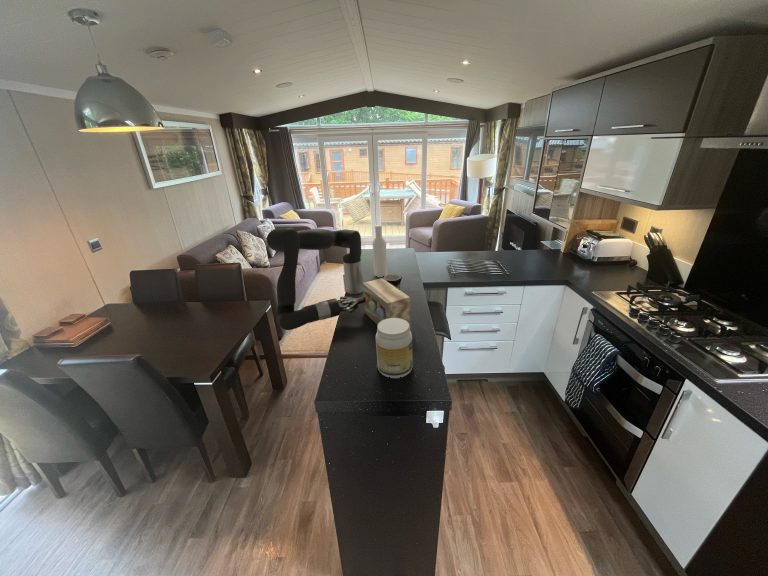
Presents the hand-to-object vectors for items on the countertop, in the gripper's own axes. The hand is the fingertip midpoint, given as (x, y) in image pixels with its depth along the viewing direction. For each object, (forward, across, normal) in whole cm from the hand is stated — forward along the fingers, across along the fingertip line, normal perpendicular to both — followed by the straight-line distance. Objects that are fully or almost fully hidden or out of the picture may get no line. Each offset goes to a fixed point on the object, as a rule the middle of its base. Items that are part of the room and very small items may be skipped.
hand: (364, 299), depth 137 cm
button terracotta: (+1, 0, +2) cm, 2 cm away
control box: (+6, -8, +9) cm, 13 cm away
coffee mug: (+23, +14, +9) cm, 28 cm away
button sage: (0, -8, +2) cm, 8 cm away
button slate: (0, -15, +2) cm, 15 cm away
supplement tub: (-6, -38, +9) cm, 39 cm away
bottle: (+29, +43, +9) cm, 53 cm away
